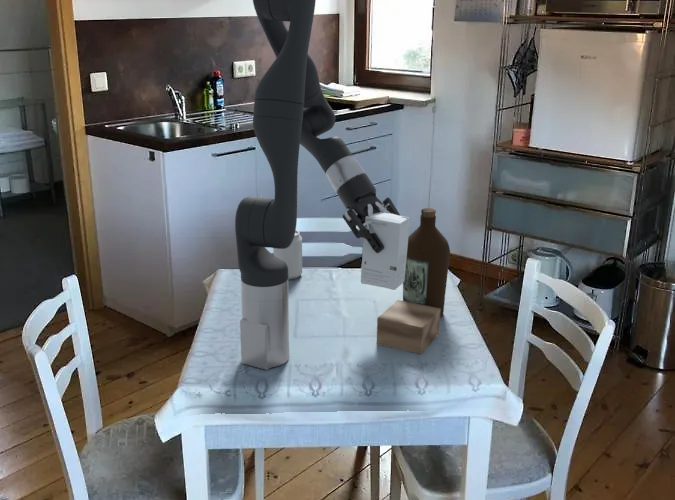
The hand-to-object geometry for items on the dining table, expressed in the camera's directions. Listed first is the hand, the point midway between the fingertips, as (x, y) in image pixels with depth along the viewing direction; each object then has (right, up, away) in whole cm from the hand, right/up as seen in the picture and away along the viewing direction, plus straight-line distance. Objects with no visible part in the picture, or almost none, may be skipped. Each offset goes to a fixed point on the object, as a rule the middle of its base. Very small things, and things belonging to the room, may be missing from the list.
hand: (392, 246), depth 153 cm
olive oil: (+8, -16, +18) cm, 25 cm away
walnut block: (+4, -20, +5) cm, 21 cm away
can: (-24, -8, +40) cm, 47 cm away
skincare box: (-1, -8, +4) cm, 9 cm away
